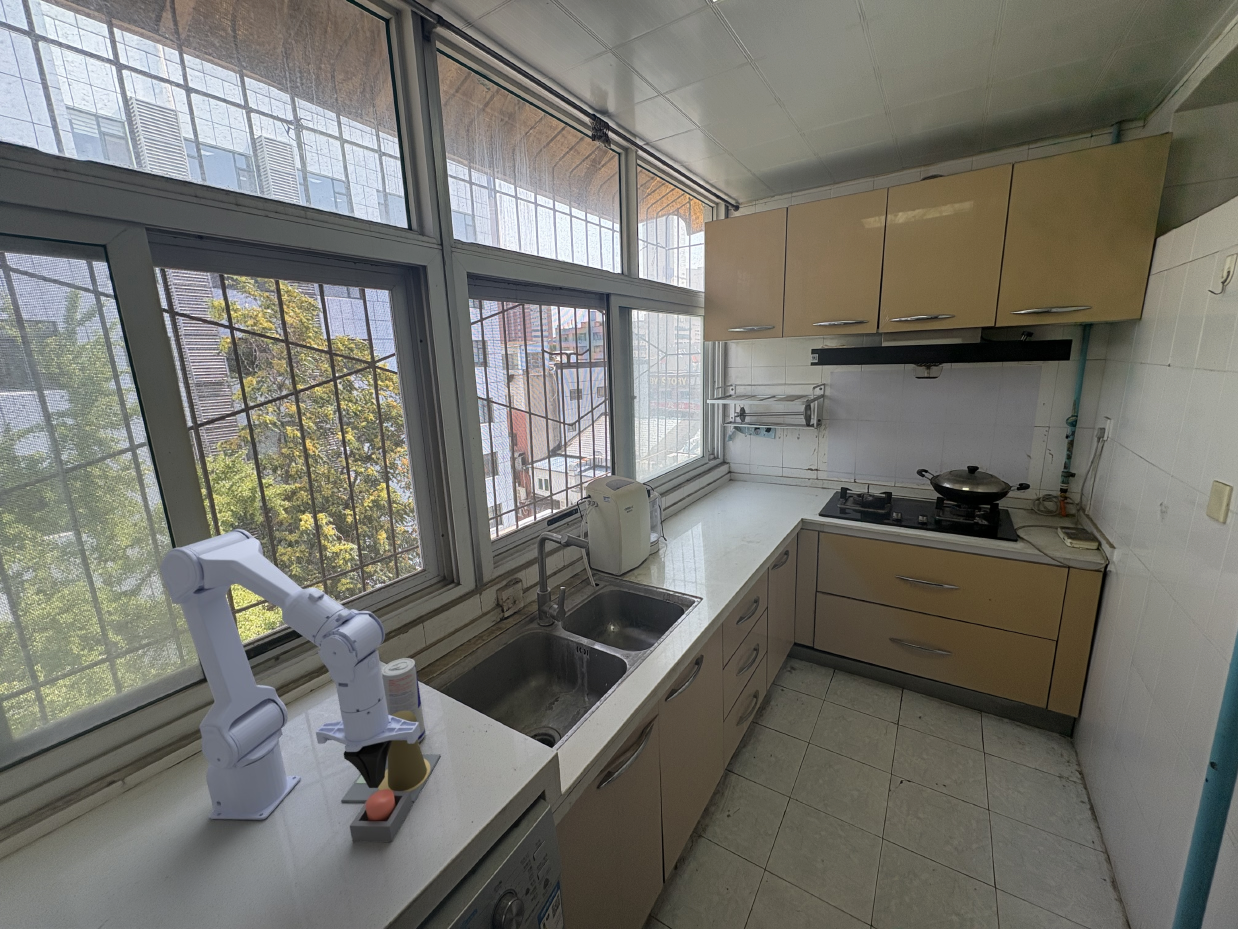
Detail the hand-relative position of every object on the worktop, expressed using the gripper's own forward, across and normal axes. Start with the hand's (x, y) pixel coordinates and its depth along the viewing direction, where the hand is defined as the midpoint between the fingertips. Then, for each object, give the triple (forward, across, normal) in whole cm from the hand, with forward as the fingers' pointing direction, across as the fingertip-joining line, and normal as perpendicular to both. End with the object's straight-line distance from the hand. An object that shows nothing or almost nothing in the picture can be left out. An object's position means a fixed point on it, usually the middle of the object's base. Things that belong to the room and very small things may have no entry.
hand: (377, 782), depth 72 cm
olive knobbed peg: (+7, 0, +8) cm, 10 cm away
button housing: (+7, 0, 0) cm, 7 cm away
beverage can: (+7, -5, +17) cm, 19 cm away
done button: (+5, 0, 0) cm, 5 cm away
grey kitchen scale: (+7, -3, +8) cm, 11 cm away
